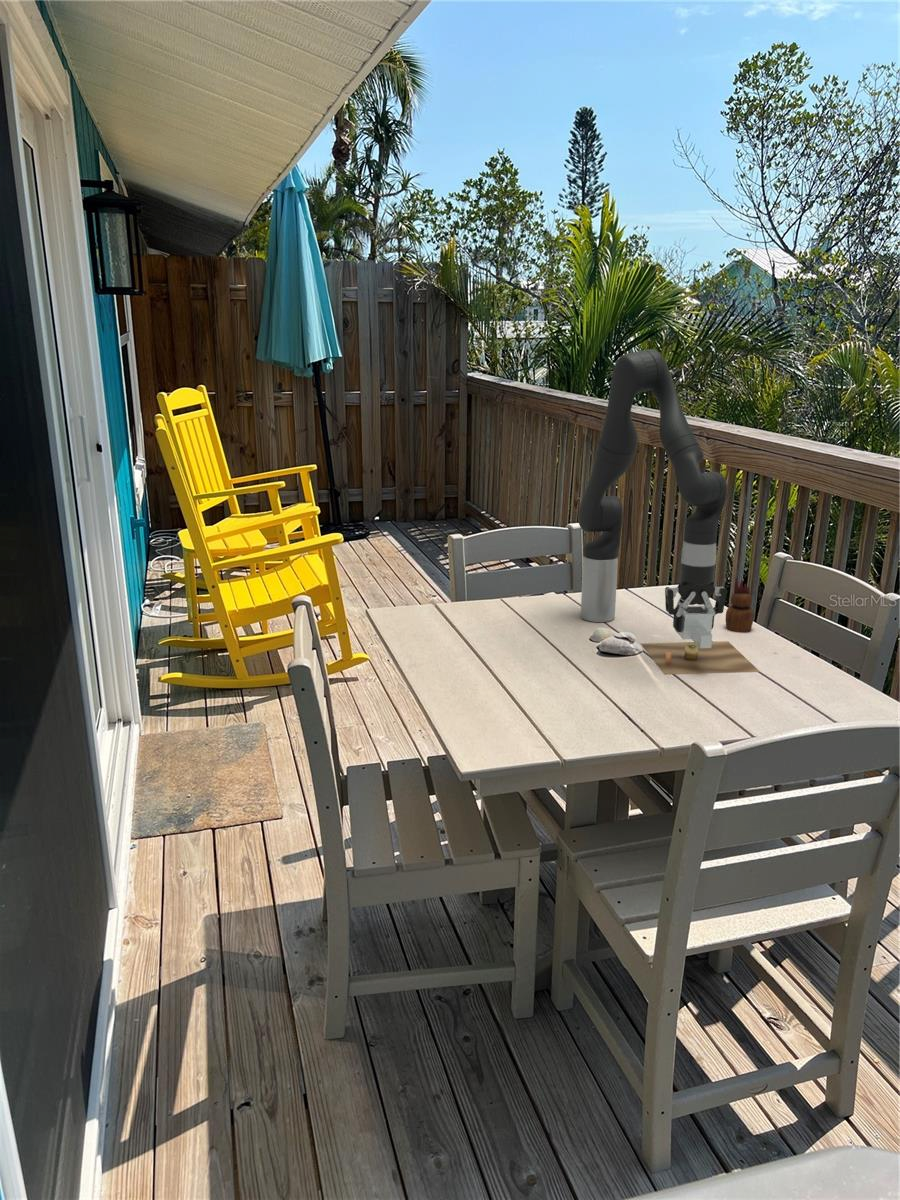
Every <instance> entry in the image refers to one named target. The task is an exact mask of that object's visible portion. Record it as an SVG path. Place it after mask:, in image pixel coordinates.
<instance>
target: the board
mask: <svg viewBox="0 0 900 1200" xmlns="http://www.w3.org/2000/svg"><path fill="white" fill-rule="evenodd" d="M690 642H691V643H695V642H694V641H689V642H687V641H686V642H685V641H684V642H682V641H681V642H649V643H647V642H646V643H642V642H641V643H640V646H641V647H642V648H643V649H644V650H645V652H646V653H647V654H648V655H649V657H650V658H651V660H652V661H653V662H654V663H655V664H656V666H657V668H658V669H660V671H661V672H662V673H663V675H664V676H665V675H693V674H694V675H695V674H702V675H703V674H729V673H731V674H732V673H734V674H735V673H761V671H760V670H759V669H758V668H757V667H756V666H755V665H754V664H753V663H751V662H750V660H749V659H747V658H746V657H745V655H743V654H742V653H741V652H740V651H739V650H738V649H737V648H736V647H735V646H734V645H733V644H732V643H730V641H729V640H728V641H727V640H726V641H725V640H723V641H712V646H711V648H699V647H698V659H697V660H696V661H688V660H685V659H684V655H685V644H686V643H690ZM666 651H671V652H672V653H671V665H666V664H665V661H666Z"/></svg>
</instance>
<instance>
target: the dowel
mask: <svg viewBox="0 0 900 1200" xmlns="http://www.w3.org/2000/svg"><path fill="white" fill-rule="evenodd" d="M671 653H672V652H671V651H666V661H665V664H666V665H671Z"/></svg>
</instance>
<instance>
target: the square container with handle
mask: <svg viewBox="0 0 900 1200" xmlns="http://www.w3.org/2000/svg"><path fill="white" fill-rule="evenodd" d="M681 617H682V622H681V632H677V631H676V630H675V629H674V631H675V632H676V634H677V635H678V636H680V638H681V639H682V640H685V641H686V640H692V642H695V643H696V644H697V646H698V647H699V648H711V646H712V642H713V634H712V632H713V631H712V630H713V629H712V619H713V614H712V613H711V612H710V611H708V610H707V609H706V608H705V607H704V605H688V607H687V609H685V610H684V612H682V615H681Z"/></svg>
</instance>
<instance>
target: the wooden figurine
mask: <svg viewBox="0 0 900 1200" xmlns="http://www.w3.org/2000/svg"><path fill="white" fill-rule="evenodd" d="M734 580H735V581H734V587H733V588H734V590H733V593H732V595H731V598H730V603H731V605H730V606H728V608H727V609H726V612H725V627H726V629H727V630H728V631H729V632H734V633H749V632H750V631H751V630H752V626H753V623H754V617H755V613H754V610H753V609H752V607H750V606H751V605H752V601H753V600H752V595H751V594H750V587H749V586H747V583H744V581H743V579H741V581H740V583H738V578H737V577H735V578H734Z"/></svg>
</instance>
